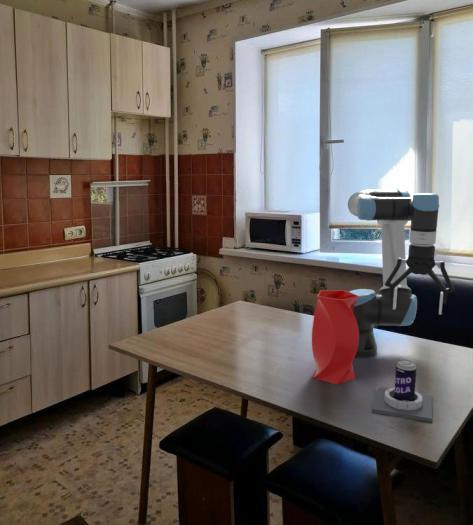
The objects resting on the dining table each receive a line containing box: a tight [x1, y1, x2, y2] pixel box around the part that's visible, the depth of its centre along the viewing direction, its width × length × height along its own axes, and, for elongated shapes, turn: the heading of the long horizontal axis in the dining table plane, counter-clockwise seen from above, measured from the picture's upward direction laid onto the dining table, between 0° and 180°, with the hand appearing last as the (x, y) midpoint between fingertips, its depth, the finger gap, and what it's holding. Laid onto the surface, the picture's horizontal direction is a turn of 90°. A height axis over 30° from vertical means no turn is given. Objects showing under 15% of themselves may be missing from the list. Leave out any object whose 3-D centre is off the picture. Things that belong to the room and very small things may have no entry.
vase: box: [311, 289, 359, 385], centre depth 168 cm, size 15×14×28 cm
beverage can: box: [394, 359, 417, 402], centre depth 148 cm, size 6×6×12 cm
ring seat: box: [371, 386, 433, 423], centre depth 149 cm, size 16×16×3 cm
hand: (416, 310), depth 159 cm, fingers open, 13 cm apart
